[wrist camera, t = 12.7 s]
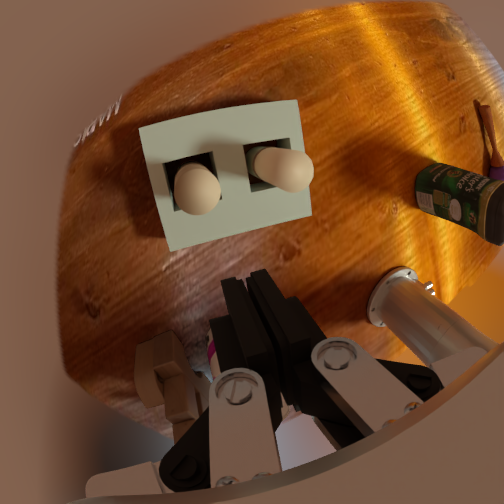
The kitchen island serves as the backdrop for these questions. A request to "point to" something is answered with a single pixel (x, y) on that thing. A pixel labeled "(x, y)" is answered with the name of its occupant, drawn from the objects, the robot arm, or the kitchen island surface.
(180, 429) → the wooden toy
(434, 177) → the coffee jar
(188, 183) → the peg
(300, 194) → the seat board
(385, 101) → the kitchen island surface
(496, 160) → the purple maraca
